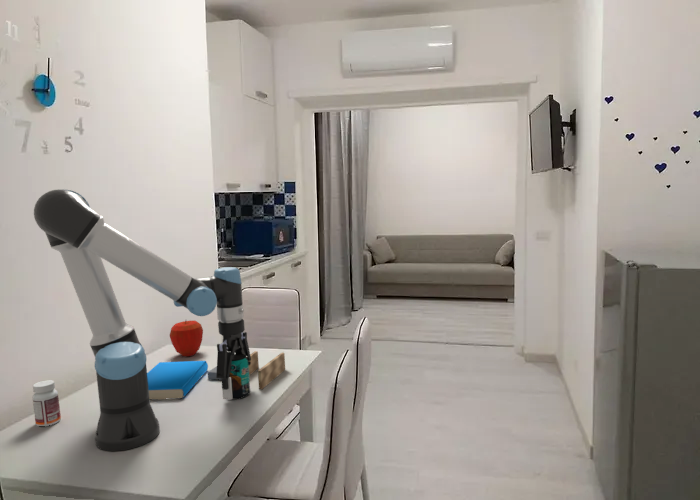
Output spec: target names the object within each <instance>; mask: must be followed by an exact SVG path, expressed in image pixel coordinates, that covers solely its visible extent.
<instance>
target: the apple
mask: <svg viewBox="0 0 700 500" xmlns="http://www.w3.org/2000/svg"><path fill="white" fill-rule="evenodd" d="M203 333H204V329H203V326H202V323H200V322H198V321H196V320H184V321H180V322H176V323H174V324H173V325H172V327H171V329H170V332H169V338H170V342H171V344H172V346H173V348H174V350H175V351H176V352H177V354H179V355H181V356H182V357H193V356H195V355H196V353H197V352H198V351H199V350H200V348H201V344H202V341H203V335H204V334H203Z"/></svg>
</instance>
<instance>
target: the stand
mask: <svg viewBox="0 0 700 500" xmlns="http://www.w3.org/2000/svg"><path fill="white" fill-rule="evenodd" d="M216 374H217V365H216V366H215V367H213V368H212V369H210V370H208V371H207V380H210V379H219V380H218V381H222V380H221V379H220V378H217V377H216Z"/></svg>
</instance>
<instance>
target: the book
mask: <svg viewBox="0 0 700 500" xmlns="http://www.w3.org/2000/svg"><path fill="white" fill-rule="evenodd" d="M208 368H209V365H208V362H207V360H190V361H187V360H186V361H164V362H162V361H161V362H160V361H159V362H158V363H157V364H156V365H154V367H153V368H151V369H150V370H148V371H147V378H148V389H149V399H158V400H167V399H166V398H182V399H184V398H185V397H186V395H187V394H188V393H189V392H190V391H191V390H192V388H193V387H195V385H196V384H197V383H196V382H198V381H200V379H201V378H202V377H203V376H204V374H206V372H208ZM202 375H203V376H202ZM201 376H202V377H201ZM195 383H196V384H195ZM190 389H191V390H190ZM183 396H185V397H183Z"/></svg>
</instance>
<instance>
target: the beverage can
mask: <svg viewBox="0 0 700 500" xmlns="http://www.w3.org/2000/svg"><path fill="white" fill-rule="evenodd" d="M246 357H247V356H246V355H244V354H236V353H235V354H234V355H233V357H232V363H231V369H230V375H229V377H231V383H232V396H233V399H232V400H237V399H238V400H239V398H240V399H243V398H246V397H247V396H249V394H250V393H251V386H250V383H251V382H250V375H249V366H248V360H247V359H246Z"/></svg>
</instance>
